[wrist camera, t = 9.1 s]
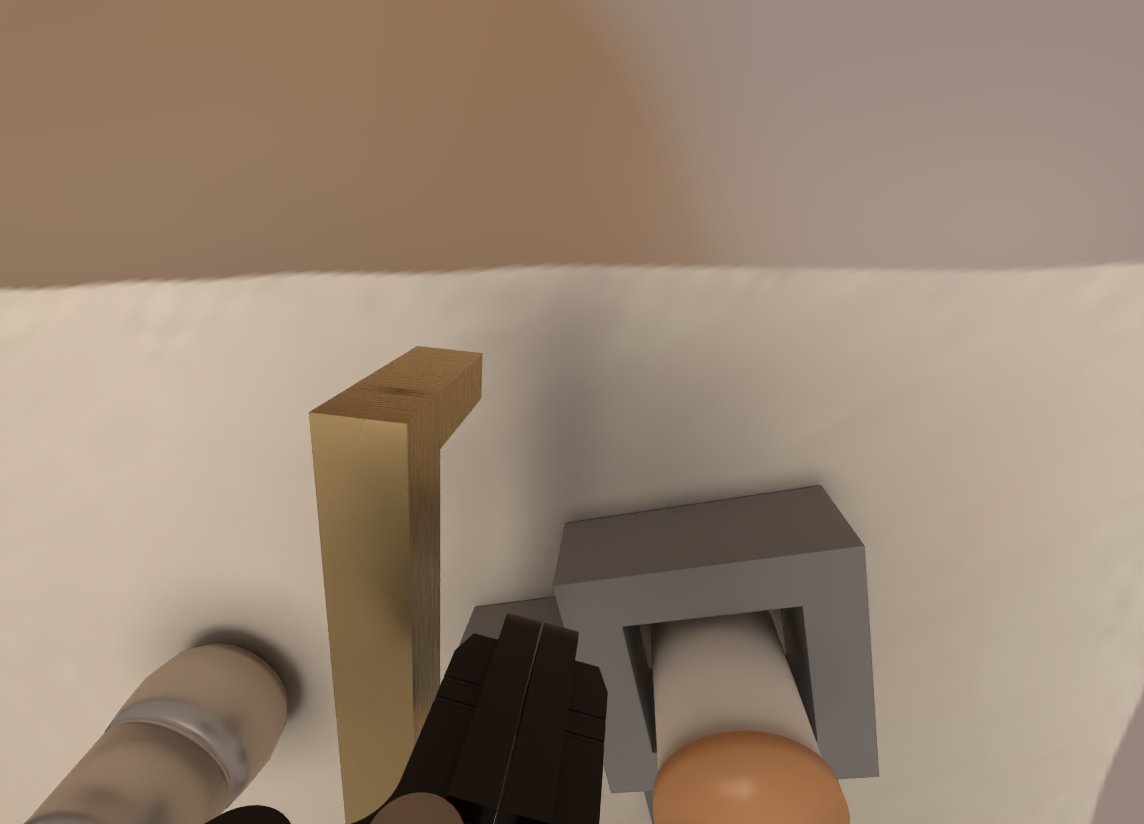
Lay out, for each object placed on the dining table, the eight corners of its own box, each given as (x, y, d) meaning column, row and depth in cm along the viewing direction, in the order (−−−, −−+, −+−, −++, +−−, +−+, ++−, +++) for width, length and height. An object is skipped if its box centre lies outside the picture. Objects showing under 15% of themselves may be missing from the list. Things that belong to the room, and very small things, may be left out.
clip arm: (520, 357, 11) (464, 431, 7) (492, 866, 17) (453, 1056, 13) (380, 341, 11) (253, 405, 8) (400, 850, 17) (334, 1034, 13)
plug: (776, 649, 23) (855, 879, 15) (655, 661, 24) (670, 885, 16) (762, 547, 22) (843, 744, 13) (634, 564, 22) (637, 758, 14)
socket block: (839, 687, 23) (993, 1031, 14) (511, 716, 26) (440, 1025, 16) (821, 485, 20) (1004, 740, 10) (451, 540, 23) (315, 788, 13)
